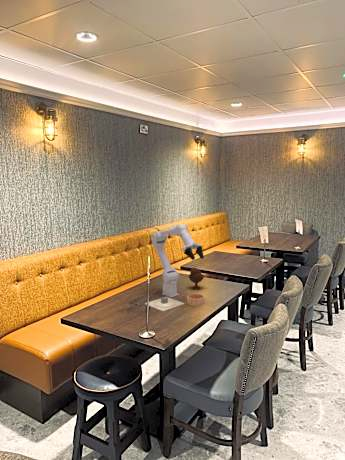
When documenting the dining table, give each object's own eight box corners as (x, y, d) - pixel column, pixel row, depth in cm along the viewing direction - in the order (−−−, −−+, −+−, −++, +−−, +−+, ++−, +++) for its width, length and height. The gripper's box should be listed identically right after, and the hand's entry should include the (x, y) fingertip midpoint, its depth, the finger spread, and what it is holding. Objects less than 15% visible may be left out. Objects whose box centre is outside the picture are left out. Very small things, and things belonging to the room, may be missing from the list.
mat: (144, 304, 229) (144, 303, 229) (165, 297, 241) (165, 296, 241) (163, 311, 216) (163, 311, 216) (184, 304, 228) (184, 303, 228)
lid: (148, 303, 229) (148, 298, 228) (165, 298, 238) (165, 292, 237) (163, 309, 218) (163, 303, 218) (180, 303, 228) (180, 297, 227)
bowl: (183, 303, 229) (183, 296, 228) (195, 299, 236) (195, 292, 236) (196, 307, 221) (196, 300, 220) (208, 303, 228) (208, 296, 228)
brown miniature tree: (203, 291, 252) (203, 270, 250) (187, 290, 255) (187, 269, 252) (204, 286, 263) (204, 266, 260) (189, 285, 265) (189, 265, 263)
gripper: (182, 237, 218) (193, 255, 212) (199, 236, 228) (210, 253, 222) (176, 244, 222) (187, 262, 216) (193, 242, 232) (203, 260, 226)
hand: (198, 258), depth 219 cm, fingers open, 7 cm apart
